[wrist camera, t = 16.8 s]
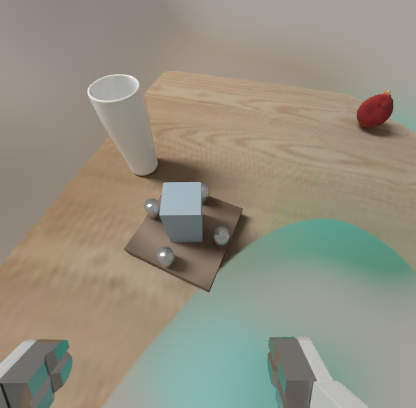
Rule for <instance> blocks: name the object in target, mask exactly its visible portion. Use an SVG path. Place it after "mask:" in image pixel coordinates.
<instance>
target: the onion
mask: <svg viewBox="0 0 416 408" xmlns="http://www.w3.org/2000/svg"><path fill="white" fill-rule="evenodd" d="M392 111H393V99H392V98H391V95H390V90H386V92H384V93H383V94H379V95H375V96H373V97H371V98H369V99H367V100H366V101H364V102H363V103H362V104H361V106H360V107H359V109H358V111H357V120H358V122H359V124H360V126H361V127H375V126H378V125H380V124H382V123H384V122H385V121H386V120H387V119H388V118H389V117H390V116H391V114H392Z"/></svg>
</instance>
